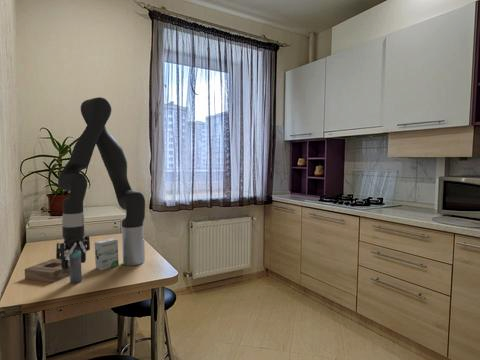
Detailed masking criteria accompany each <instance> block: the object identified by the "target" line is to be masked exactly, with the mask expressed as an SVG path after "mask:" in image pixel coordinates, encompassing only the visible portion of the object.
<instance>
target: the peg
mask: <svg viewBox="0 0 480 360" xmlns="http://www.w3.org/2000/svg"><path fill="white" fill-rule="evenodd" d="M68 260H69V263H70V275H69V283H70V284H72V285H75V284H79V283H82V282H83V280H82V279H83V277H82V263H81V250H75V251H73V252H72V254H70V255H69V258H68Z"/></svg>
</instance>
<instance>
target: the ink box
mask: <svg viewBox="0 0 480 360" xmlns="http://www.w3.org/2000/svg"><path fill="white" fill-rule="evenodd" d="M118 243H119V242H118V239H116V238H107V239H104V240H100V241H94V255H95V256H94V257H95V269H97V270H99V271H103V270H107V269H111V268H114V267H117V266H120V264H119V246H118V245H119V244H118Z"/></svg>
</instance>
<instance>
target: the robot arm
mask: <svg viewBox="0 0 480 360" xmlns="http://www.w3.org/2000/svg"><path fill="white" fill-rule="evenodd" d="M80 113H81V116H82V118H83V120H84V122H85V124H86V127H85V128H84V130H83V131H82V133H81V135H80V136H79V138H78V139H77V140H76V142H75V144H74V146H73V148H72V151H71V154H70V157H69V160H68V162H67V163H66V164H65V166H64V167H63V168H62V170H61V171H60V173H59V175H58V181H57V182H58V184H57V185H58V187H59V188H60V189H61V190H63V191H67V192H69V194H68V197H65V198H64V199H63V200H62V219H61V220H62V221H61V224H62V225H61V226H62V227H61V228H62V238H63V239H64V240H63V242H57V243H56V248H55V249H56V253H55V255H56V257H55V259H60V260H61V264H62V266H61V267H62V269H64V270H67V269H68V260H69V255H70V254H72V252H73V251H75V250H81V264H84V263H86V260H87V256H86V255H87V252H88V251H90V250H91V245H90V236H89V235H85V214H84V199H85V197H86V193H87V189H88V179H87V177H86V175H84V174H83V173H81V171H83V170H86V169H88V167H89V165H90V162H91V160H92V157H93V153H94V150H95V147H97V149H98V153H99V154H100V157H101V160H102V162H103V165H104V167H105V169H106V172H107V174H108V176H109V180H110V181H111V184H112V186H113V189H114V194H115V197H116V200H117V204H118V205H119V207H120V208H121V209H122V210H124V211H125V212H126V214H125V218H124V219H122V221H121V235H122V236H121V239H122V240H121V243H122V244H121V245H122V264H123V266H128V267H129V266H139V265H141V264H143V263H144V262H145V260H146V259H145V256H146V255H145V240H144V221H145V217H146V212H145V211H146V199H145V196H144V195H143V193H142V192H141V191H137V190H133V189H132V187H131V185H130V182H129V180H128V162H127V157H126V156H125V153H124V150H123V148H122V146H121V145H120V143H119V142H118V141H117V140H116V139H115V138H114V137H113V135H112V134H111V133H110V131H109V130H108V129H107V127H106V124H107V123H108V120H109V119H110V117H111V115H112V106H111V103H110V101H109V100H108V99H106V98H104V97H99V96H98V97H93V98H90V99H85V100H84V101H83V102H82V103H81V105H80Z"/></svg>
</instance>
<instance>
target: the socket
mask: <svg viewBox="0 0 480 360" xmlns="http://www.w3.org/2000/svg"><path fill="white" fill-rule="evenodd" d="M67 260H68V269H67V270H64V269H62V267H61V266H62V264H61V260H60V259H56V258H52V259H49V260H46V261H44V262H43V261H42V262H40V263H38V264H34V265H32V266H29V267H26V268H24V280H30V279H31V280H32V281H38V282H44V283H45V282H46V283H55V282H57V281H60V280H62V279H64V278H67V277H70V263H69V259H67ZM31 280H30V281H31Z"/></svg>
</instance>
